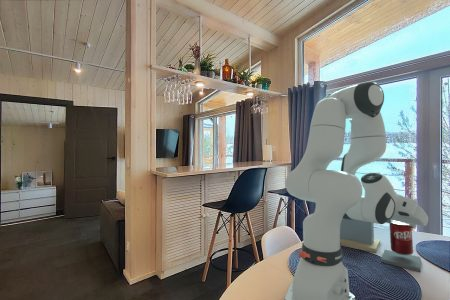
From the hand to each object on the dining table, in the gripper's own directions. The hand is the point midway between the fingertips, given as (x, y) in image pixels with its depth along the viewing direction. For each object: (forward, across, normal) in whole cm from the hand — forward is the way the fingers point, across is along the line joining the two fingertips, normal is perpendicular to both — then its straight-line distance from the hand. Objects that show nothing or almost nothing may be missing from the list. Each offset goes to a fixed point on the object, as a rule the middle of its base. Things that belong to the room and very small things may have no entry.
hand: (401, 224), depth 94 cm
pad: (+10, 0, -11) cm, 15 cm away
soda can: (+8, 0, -8) cm, 11 cm away
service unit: (+12, -20, -8) cm, 25 cm away
